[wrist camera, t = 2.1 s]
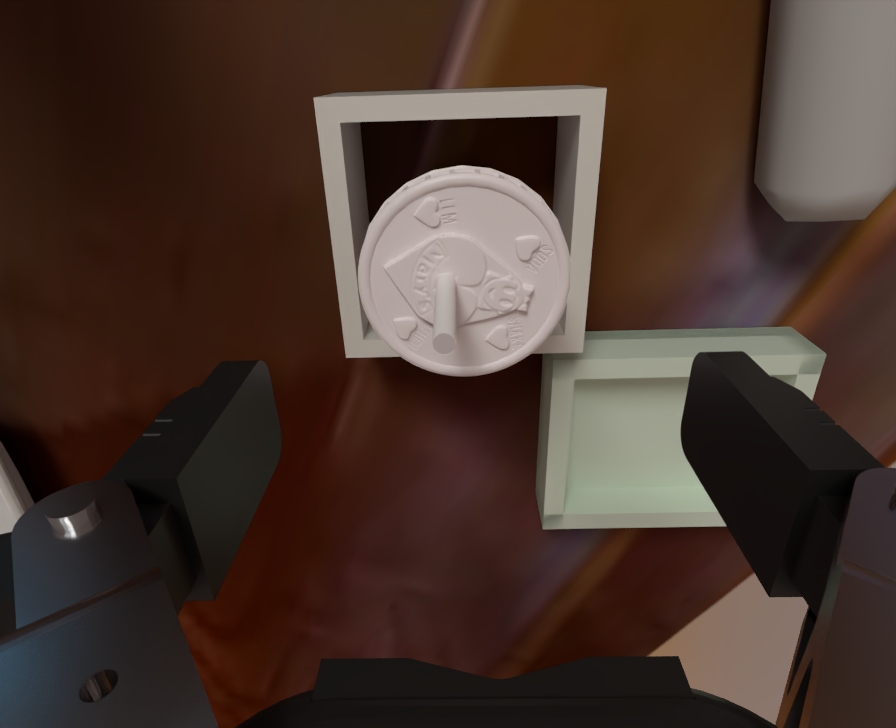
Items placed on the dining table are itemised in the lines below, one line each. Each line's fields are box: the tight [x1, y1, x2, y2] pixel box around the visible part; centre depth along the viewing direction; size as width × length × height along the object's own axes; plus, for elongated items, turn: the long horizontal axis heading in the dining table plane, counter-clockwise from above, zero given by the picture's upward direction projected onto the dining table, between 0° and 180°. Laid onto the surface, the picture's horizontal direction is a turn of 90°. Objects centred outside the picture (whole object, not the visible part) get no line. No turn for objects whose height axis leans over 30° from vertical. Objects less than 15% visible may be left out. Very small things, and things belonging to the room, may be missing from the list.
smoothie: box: [358, 165, 571, 377], centre depth 19 cm, size 6×6×14 cm
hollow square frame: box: [314, 85, 607, 358], centre depth 23 cm, size 10×10×4 cm
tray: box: [535, 327, 826, 529], centre depth 29 cm, size 12×10×3 cm
